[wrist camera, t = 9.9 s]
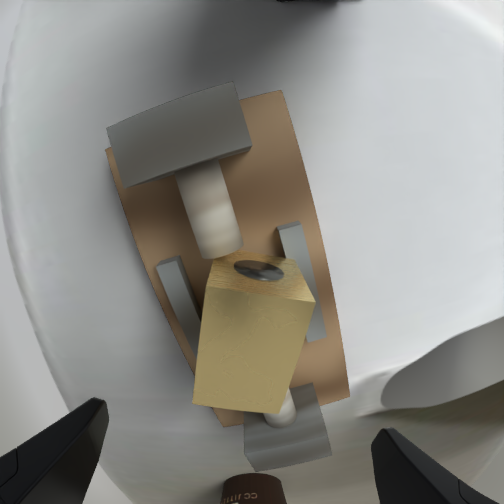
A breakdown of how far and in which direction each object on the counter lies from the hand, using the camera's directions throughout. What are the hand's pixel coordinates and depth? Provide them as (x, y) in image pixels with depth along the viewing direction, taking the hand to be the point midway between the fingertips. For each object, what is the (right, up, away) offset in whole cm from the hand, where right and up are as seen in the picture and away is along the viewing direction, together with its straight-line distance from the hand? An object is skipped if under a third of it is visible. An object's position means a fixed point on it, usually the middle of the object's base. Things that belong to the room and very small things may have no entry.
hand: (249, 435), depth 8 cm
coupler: (0, +3, +8) cm, 9 cm away
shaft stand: (0, +3, +11) cm, 11 cm away
